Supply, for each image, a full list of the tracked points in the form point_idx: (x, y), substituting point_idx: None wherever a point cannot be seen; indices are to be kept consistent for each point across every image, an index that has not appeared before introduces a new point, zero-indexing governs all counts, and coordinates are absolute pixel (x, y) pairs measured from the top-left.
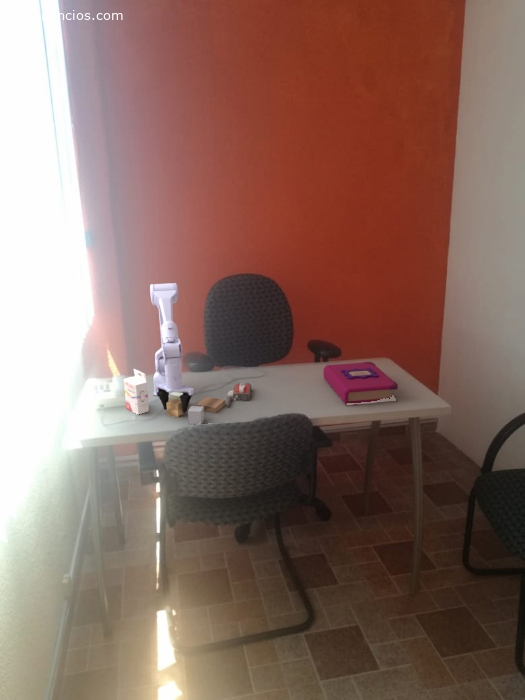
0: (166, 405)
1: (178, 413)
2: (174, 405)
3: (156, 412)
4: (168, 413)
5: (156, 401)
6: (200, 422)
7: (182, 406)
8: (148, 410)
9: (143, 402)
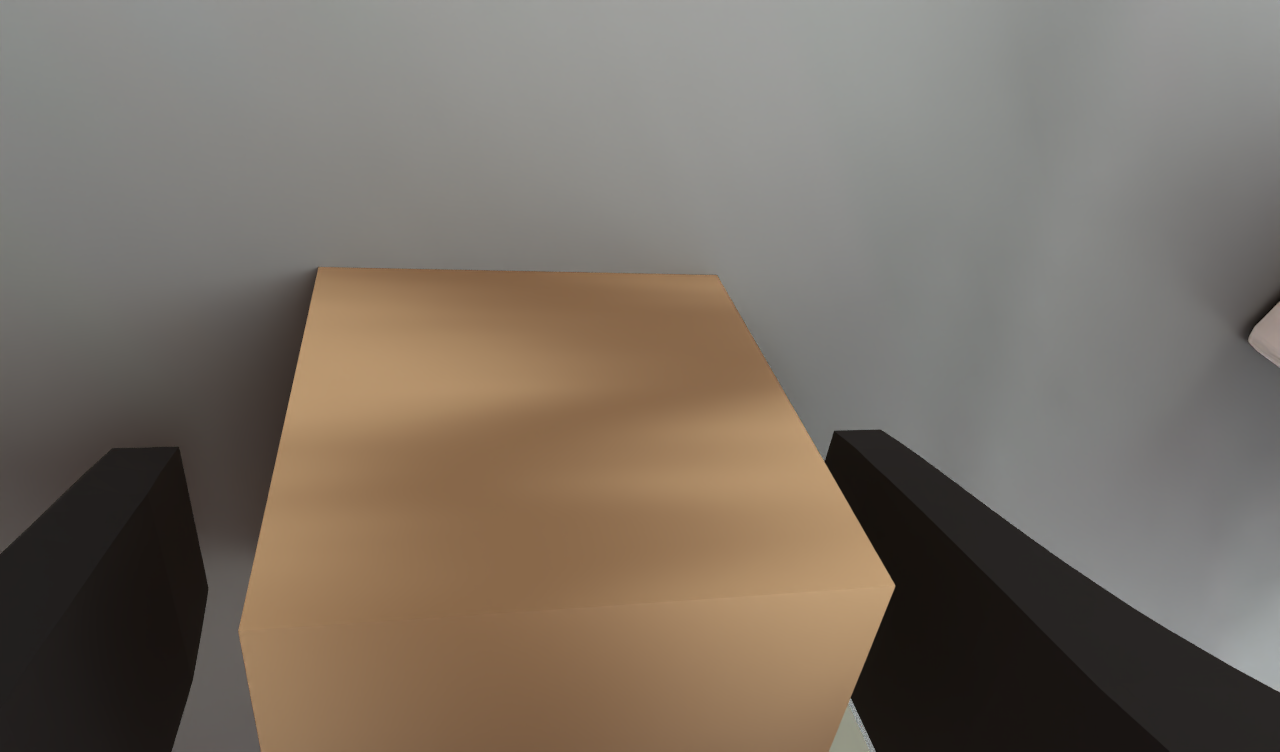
0: None
1: (304, 366)
2: (437, 561)
3: (1055, 345)
4: (689, 315)
5: None
6: None
7: (19, 634)
8: (1278, 334)
9: None
